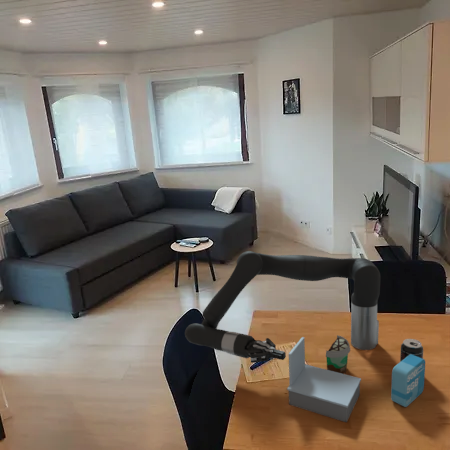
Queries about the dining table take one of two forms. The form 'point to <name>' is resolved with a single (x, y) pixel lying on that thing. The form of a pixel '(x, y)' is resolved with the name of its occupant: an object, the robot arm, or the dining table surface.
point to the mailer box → (323, 405)
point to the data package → (408, 380)
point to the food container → (338, 355)
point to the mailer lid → (319, 380)
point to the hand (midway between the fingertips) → (284, 356)
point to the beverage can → (411, 348)
